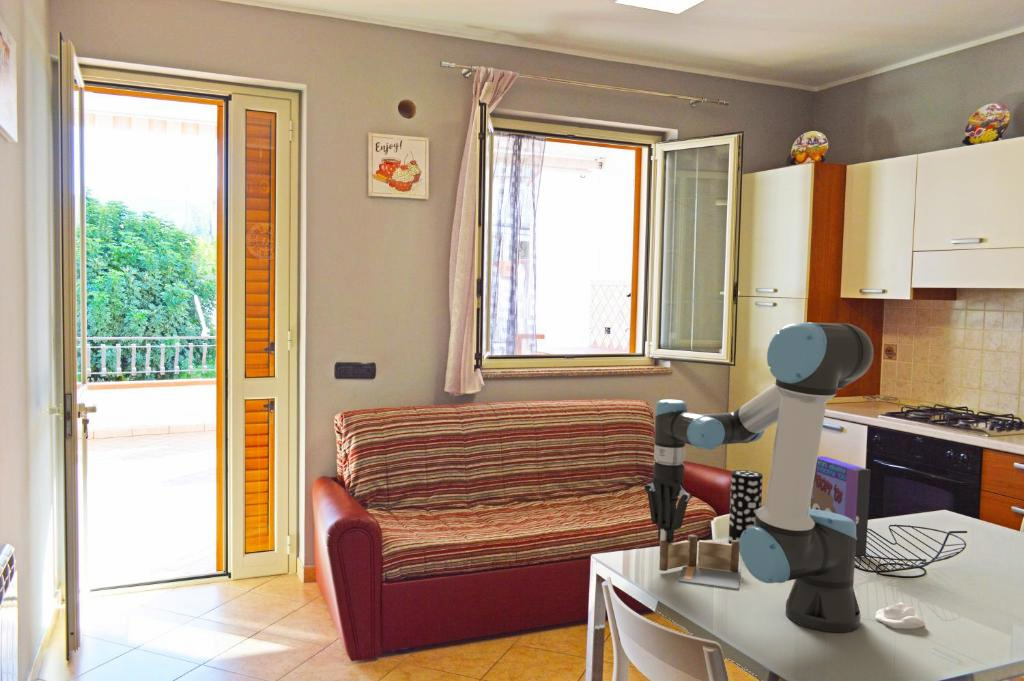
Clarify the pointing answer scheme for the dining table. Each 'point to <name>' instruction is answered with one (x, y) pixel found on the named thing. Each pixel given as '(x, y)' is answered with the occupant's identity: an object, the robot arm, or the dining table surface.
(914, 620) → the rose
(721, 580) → the card
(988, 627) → the dining table surface
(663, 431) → the robot arm
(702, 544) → the fence fixed
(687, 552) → the folding panel
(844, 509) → the cereal box
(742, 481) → the white-spotted black cylinder
